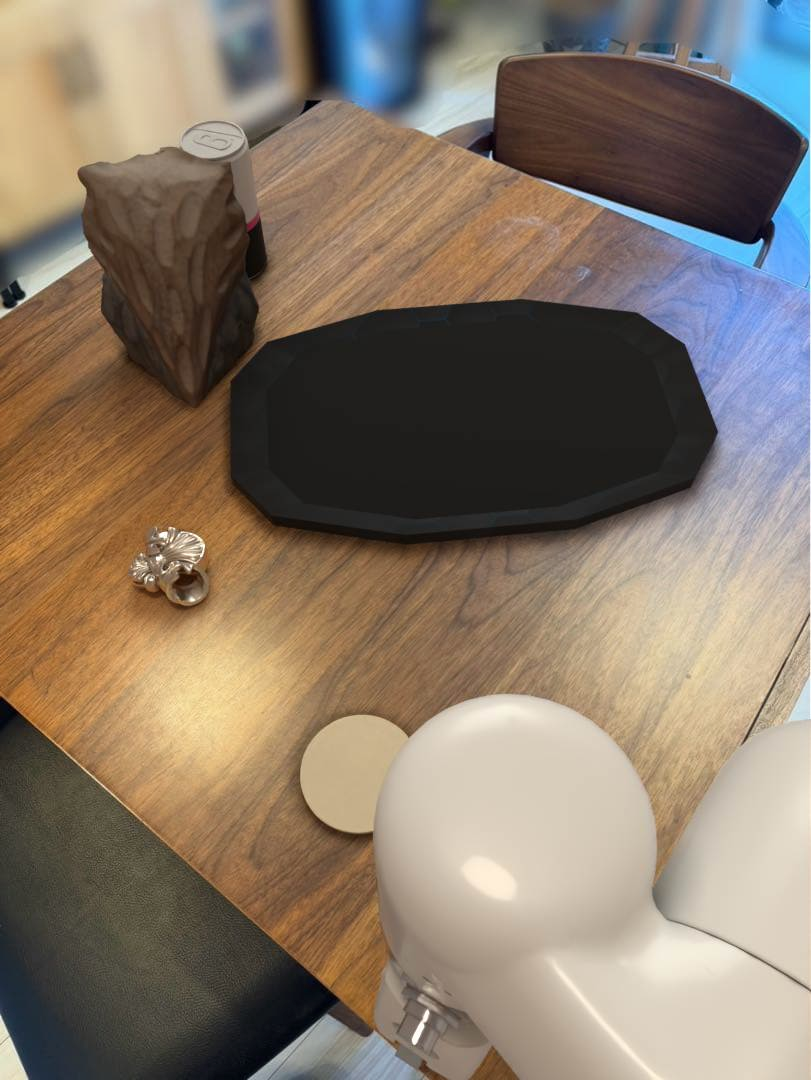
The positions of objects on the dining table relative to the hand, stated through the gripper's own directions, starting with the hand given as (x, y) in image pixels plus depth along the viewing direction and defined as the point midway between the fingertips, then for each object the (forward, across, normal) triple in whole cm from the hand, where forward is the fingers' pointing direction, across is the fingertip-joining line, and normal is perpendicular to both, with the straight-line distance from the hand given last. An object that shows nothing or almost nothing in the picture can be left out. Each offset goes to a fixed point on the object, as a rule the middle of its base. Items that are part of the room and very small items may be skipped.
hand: (453, 967), depth 48 cm
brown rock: (+14, +38, +49) cm, 64 cm away
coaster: (+13, +10, +12) cm, 21 cm away
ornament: (+14, +17, +35) cm, 41 cm away
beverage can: (+14, +52, +53) cm, 76 cm away
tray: (+13, +45, +21) cm, 51 cm away
